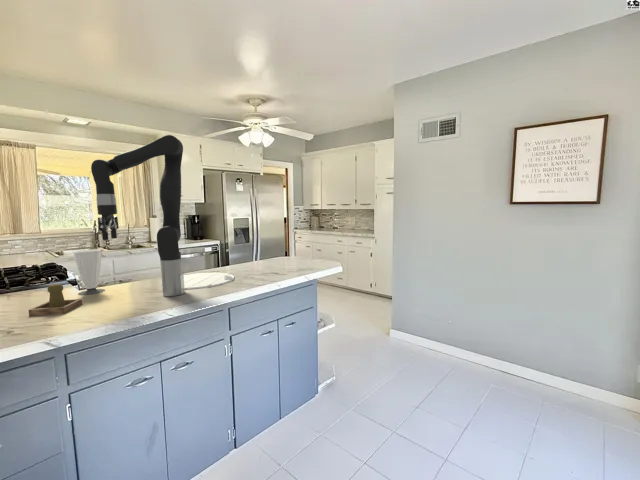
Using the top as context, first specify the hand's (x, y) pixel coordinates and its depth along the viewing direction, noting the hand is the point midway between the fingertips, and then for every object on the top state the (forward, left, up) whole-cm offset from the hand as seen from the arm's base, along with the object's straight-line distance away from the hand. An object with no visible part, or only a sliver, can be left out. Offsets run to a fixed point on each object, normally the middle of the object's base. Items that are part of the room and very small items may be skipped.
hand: (110, 239), depth 152 cm
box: (+17, +14, -28) cm, 36 cm away
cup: (+18, -16, -28) cm, 37 cm away
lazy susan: (-33, -28, -29) cm, 52 cm away
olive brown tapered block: (+17, +14, -28) cm, 36 cm away
